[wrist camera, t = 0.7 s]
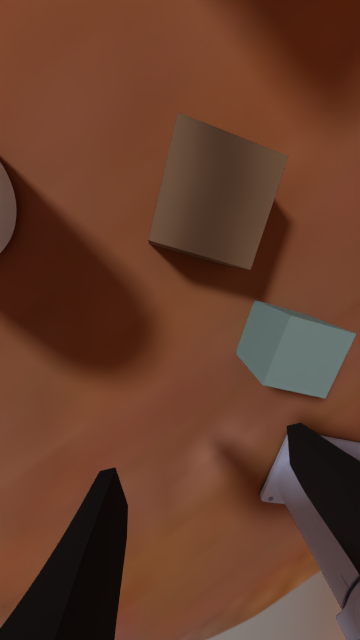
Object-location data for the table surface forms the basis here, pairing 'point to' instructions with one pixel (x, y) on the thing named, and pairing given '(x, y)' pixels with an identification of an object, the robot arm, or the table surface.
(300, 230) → the table surface
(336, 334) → the teal block
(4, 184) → the beverage can
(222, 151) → the walnut base block
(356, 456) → the robot arm
